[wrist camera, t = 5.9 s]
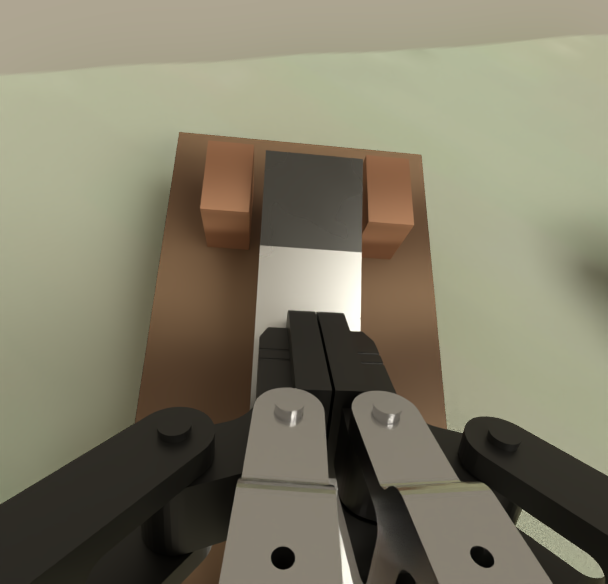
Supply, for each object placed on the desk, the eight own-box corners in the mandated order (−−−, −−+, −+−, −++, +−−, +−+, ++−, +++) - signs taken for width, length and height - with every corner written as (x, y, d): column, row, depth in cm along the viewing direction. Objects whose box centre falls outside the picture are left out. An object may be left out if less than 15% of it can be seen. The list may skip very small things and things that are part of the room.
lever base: (423, 710, 15) (542, 878, 9) (121, 720, 14) (22, 918, 8) (392, 205, 22) (446, 109, 16) (191, 189, 21) (168, 79, 15)
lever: (345, 650, 12) (355, 680, 11) (235, 652, 12) (233, 683, 11) (354, 176, 15) (363, 158, 14) (264, 168, 15) (265, 150, 13)
